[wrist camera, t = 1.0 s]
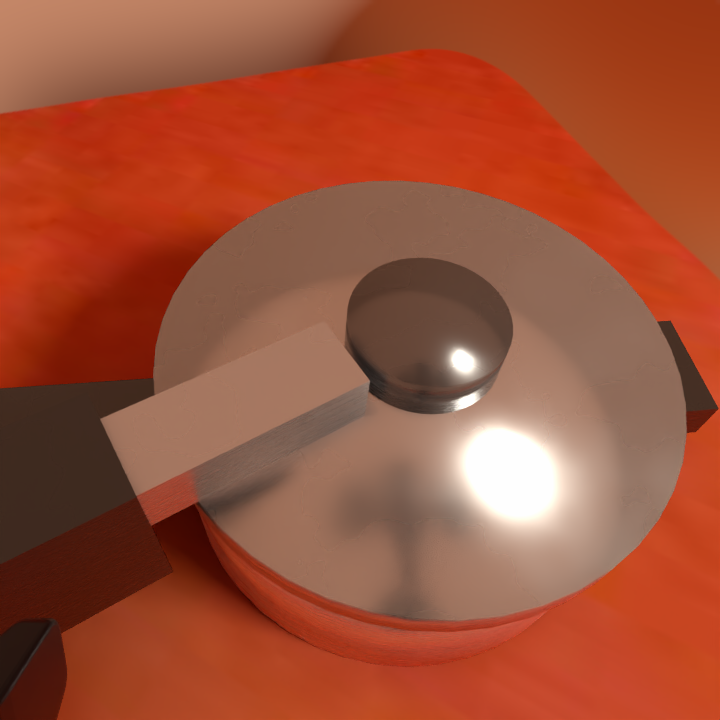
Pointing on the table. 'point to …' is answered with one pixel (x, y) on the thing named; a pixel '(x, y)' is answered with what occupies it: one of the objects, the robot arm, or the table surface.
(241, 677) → the table surface
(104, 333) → the table surface
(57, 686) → the robot arm
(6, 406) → the pressure pot
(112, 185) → the table surface
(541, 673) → the table surface
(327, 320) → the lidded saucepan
